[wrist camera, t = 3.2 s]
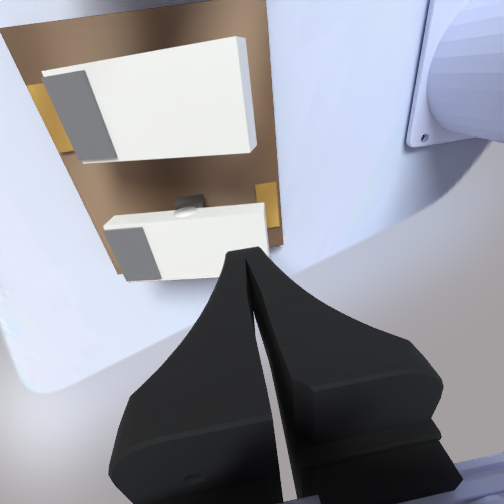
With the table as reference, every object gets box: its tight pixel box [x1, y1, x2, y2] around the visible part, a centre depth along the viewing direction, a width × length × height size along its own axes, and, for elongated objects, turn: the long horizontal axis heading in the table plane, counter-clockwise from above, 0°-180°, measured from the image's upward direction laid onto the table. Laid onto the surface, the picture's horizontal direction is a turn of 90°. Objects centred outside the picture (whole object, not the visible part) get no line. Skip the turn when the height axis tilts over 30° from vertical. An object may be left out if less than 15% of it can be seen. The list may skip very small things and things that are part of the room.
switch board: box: [0, 0, 283, 274], centre depth 15 cm, size 12×13×3 cm
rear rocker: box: [103, 203, 270, 282], centre depth 15 cm, size 8×4×2 cm, turn 97°
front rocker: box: [41, 36, 257, 164], centre depth 11 cm, size 8×4×2 cm, turn 97°
